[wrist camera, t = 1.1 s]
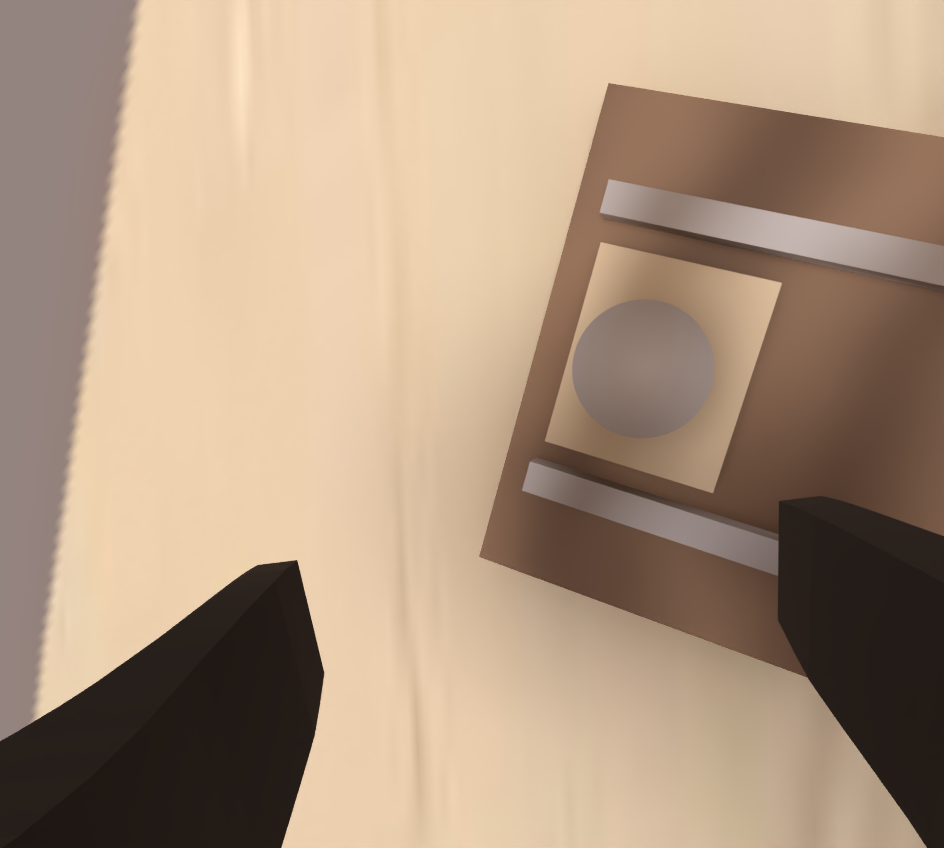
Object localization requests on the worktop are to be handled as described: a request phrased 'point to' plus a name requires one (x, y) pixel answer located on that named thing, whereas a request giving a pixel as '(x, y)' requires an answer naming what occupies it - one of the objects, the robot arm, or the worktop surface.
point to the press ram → (661, 364)
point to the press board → (777, 367)
